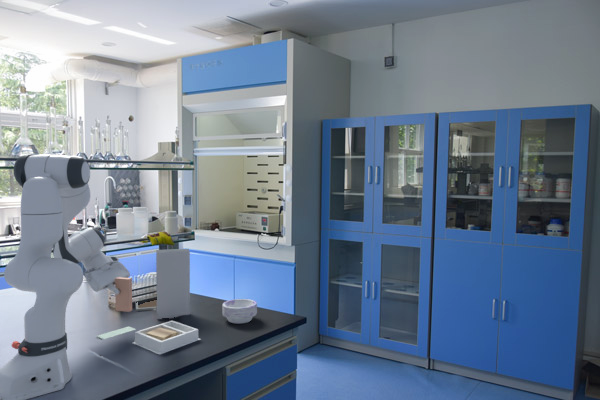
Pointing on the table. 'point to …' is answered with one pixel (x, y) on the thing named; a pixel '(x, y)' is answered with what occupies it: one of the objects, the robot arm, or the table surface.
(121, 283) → the terracotta board
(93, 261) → the robot arm
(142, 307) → the clipboard
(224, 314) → the paper bowls
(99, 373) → the table surface
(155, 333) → the offcut upper
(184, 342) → the white divided tray
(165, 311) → the brochure
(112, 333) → the sage mat
